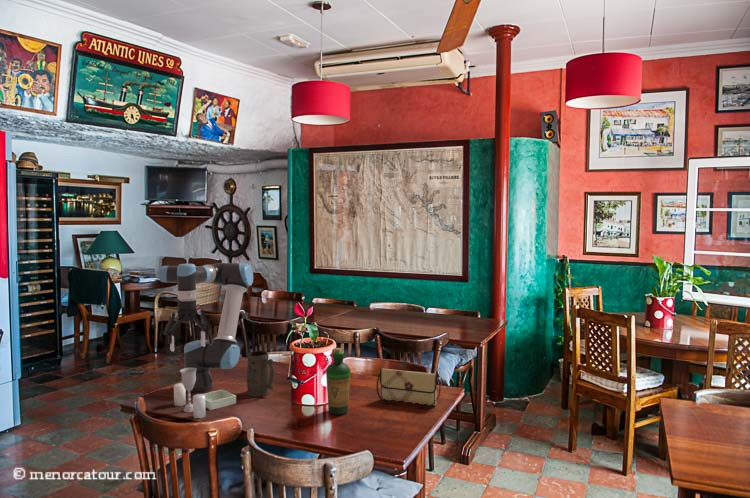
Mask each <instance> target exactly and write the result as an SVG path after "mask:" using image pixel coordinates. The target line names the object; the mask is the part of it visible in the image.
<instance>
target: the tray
mask: <svg viewBox="0 0 750 498" xmlns="http://www.w3.org/2000/svg"><path fill="white" fill-rule="evenodd" d="M204 394H205V409H208V410H209V411H212V410H215V409H221V408H224V407H227V406H231V405H235V404H237V395H235V394H233V393H232V392H230V391H227V390H226V389H223V388H222V389H218V390H213V391H210V392H205V393H204Z"/></svg>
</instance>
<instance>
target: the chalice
mask: <svg viewBox="0 0 750 498" xmlns="http://www.w3.org/2000/svg"><path fill="white" fill-rule="evenodd" d="M196 370H197V369H196V368H185V367H184V368H182V369H180V370H179V372H180V375H181V383H182V384H183V386H184V388H185V390H186V391H188V392H187V394H186V397H187V398H186V401H188V402H187V403H186V404H185V405H184V409H183V412H185V413H192V412H193V403H191V400H192V398H191V397H192V395H191V392H190V391H191V390H192V389H193V387H194V385H195V381H196Z"/></svg>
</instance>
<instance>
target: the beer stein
mask: <svg viewBox="0 0 750 498" xmlns="http://www.w3.org/2000/svg"><path fill="white" fill-rule="evenodd" d="M246 358H247V367H246V387H247V392H246V394H247V395H248V396H250V397H253V398H254V397H257V398H259V397H260V398H261V397H264V396H265V397H266V396H267V395H269V394H270V392H271V391H272V390H273V389H274V387H273V382H274V379H275V366H274V362H273V361H274V360H273V359H272V358H269V352H267V351H264V350H253V351H250V352H248V353H247V357H246Z"/></svg>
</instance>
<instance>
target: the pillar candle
mask: <svg viewBox="0 0 750 498" xmlns="http://www.w3.org/2000/svg"><path fill="white" fill-rule="evenodd" d="M192 404H193V411H192V412H193V413H192V415H193V417H194V419H196V418H200V419H204V418H205V417H206V415H207V413H206V409H207V408H206V407H205V393H196V394H194V395H192ZM203 417H204V418H203Z"/></svg>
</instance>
